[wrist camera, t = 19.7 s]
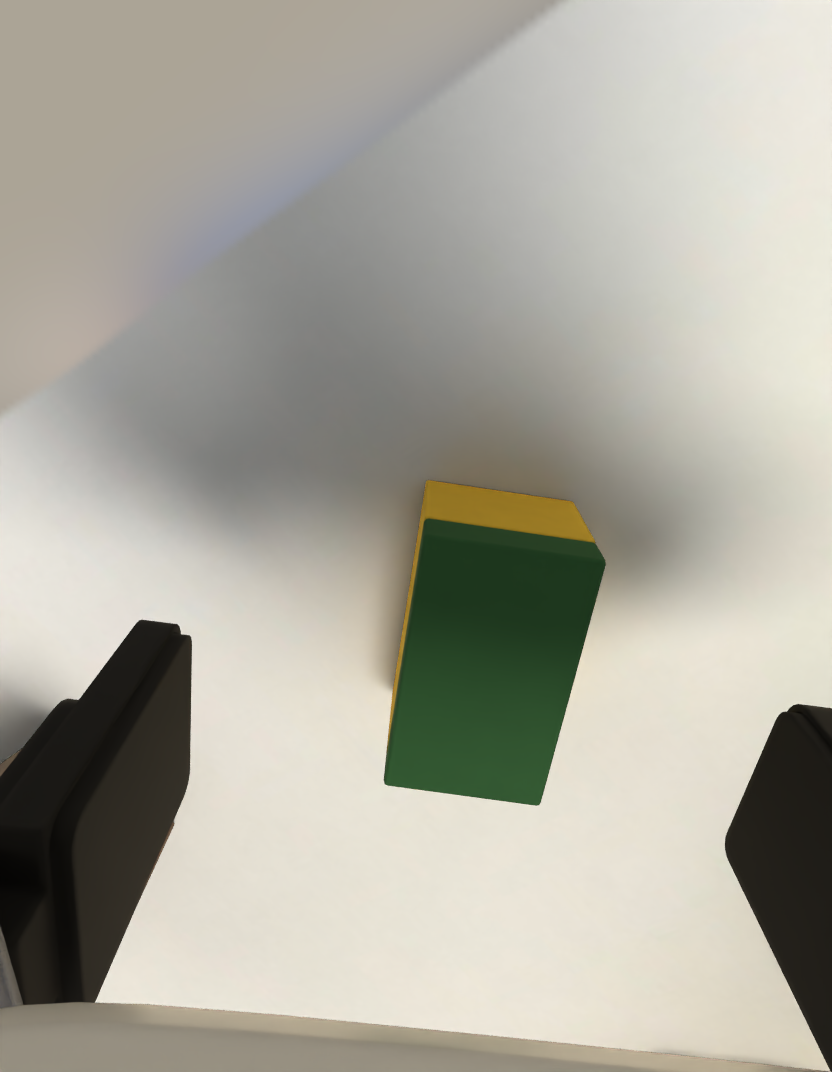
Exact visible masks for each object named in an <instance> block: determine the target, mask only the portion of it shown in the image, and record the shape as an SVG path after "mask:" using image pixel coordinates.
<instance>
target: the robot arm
mask: <svg viewBox="0 0 832 1072" xmlns="http://www.w3.org/2000/svg"><path fill="white" fill-rule="evenodd" d="M191 664H192V640H191V637H190V636H189V635H182V634H181V631H180V627H179V626H178V624H171V623H163V622H155V621H148V620H139V621H138V622H137V623H136V624H135V626H134V627H133V628H132V630H131V631H130V632H129V634H128V635H127V636H126V638H125V639H124V640H123V642H122V643H121V644H120V646H119V647H118V648H117V650H116V651H115V652H114V654H113V655H112V656H111V658H110V659H109V661H108V662H107V663H106V665H105V666H104V667H103V669H102V670H101V671H100V673H99V674H98V675H97V677H96V678H95V679H94V681H93V682H92V683H91V685H90V686H89V687H88V689H87V690H86V691H85V693H84V694H83V695H82V697H81V698H80V699H79V700H73V699H66V700H63V701H61V702H60V703H59V704H58V705H57V706H56V707H55V708H54V709H53V710H52V712H51V713H50V714H49V715H48V717H47V718H46V719H45V720H44V722H43V723H42V724H41V726H40V727H39V728H38V729H37V731H36V732H35V733H34V734H33V736H32V737H31V738H30V739H29V741H28V742H27V743H26V745H25V746H24V747H23V748H22V750H21V751H20V752H19V753H18V755H17V756H16V757H15V759H14V760H13V761H12V762H11V764H10V765H9V766H8V767H7V769H6V770H5V771H4V772H3V774H2V775H1V776H0V1072H828V1071H819V1070H810V1069H801V1068H792V1067H783V1066H774V1065H765V1064H756V1063H747V1062H738V1061H728V1060H719V1059H710V1058H701V1057H691V1056H682V1055H672V1054H663V1053H653V1052H644V1051H634V1050H625V1049H615V1048H606V1047H596V1046H586V1045H577V1044H567V1043H557V1042H548V1041H538V1040H528V1039H519V1038H509V1037H499V1036H489V1035H480V1034H470V1033H459V1032H449V1031H439V1030H429V1029H419V1028H409V1027H398V1026H388V1025H378V1024H368V1023H358V1022H347V1021H337V1020H327V1019H317V1018H307V1017H296V1016H286V1015H275V1014H263V1013H250V1012H238V1011H225V1010H212V1009H200V1008H187V1007H175V1006H162V1005H150V1004H120V1003H95V1001H96V999H97V996H98V994H99V992H100V989H101V987H102V985H103V982H104V980H105V978H106V975H107V973H108V971H109V969H110V966H111V964H112V962H113V959H114V957H115V955H116V952H117V950H118V948H119V945H120V943H121V941H122V938H123V936H124V934H125V931H126V929H127V927H128V925H129V922H130V920H131V918H132V915H133V913H134V911H135V908H136V906H137V904H138V901H139V899H140V897H141V894H142V892H143V890H144V888H145V885H146V883H147V881H148V878H149V876H150V874H151V871H152V869H153V867H154V864H155V862H156V860H157V857H158V855H159V853H160V851H161V848H162V846H163V844H164V841H165V839H166V837H167V834H168V832H169V830H170V827H171V825H172V823H173V820H174V818H175V816H176V813H177V811H178V809H179V807H180V804H181V802H182V800H183V797H184V795H185V792H186V789H187V785H188V780H189V774H190V729H191ZM725 850H726V855H727V858H728V861H729V863H730V865H731V867H732V869H733V871H734V873H735V875H736V877H737V879H738V881H739V883H740V885H741V887H742V890H743V892H744V894H745V896H746V898H747V900H748V902H749V904H750V906H751V908H752V910H753V912H754V914H755V916H756V918H757V920H758V923H759V925H760V927H761V929H762V931H763V933H764V935H765V937H766V939H767V941H768V943H769V945H770V947H771V949H772V951H773V953H774V956H775V958H776V960H777V962H778V964H779V966H780V968H781V970H782V972H783V974H784V976H785V978H786V980H787V982H788V984H789V986H790V988H791V991H792V993H793V995H794V997H795V999H796V1001H797V1003H798V1005H799V1007H800V1009H801V1011H802V1013H803V1015H804V1017H805V1019H806V1021H807V1024H808V1026H809V1028H810V1030H811V1032H812V1034H813V1036H814V1038H815V1040H816V1042H817V1044H818V1046H819V1048H820V1050H821V1052H822V1054H823V1056H824V1059H825V1061H826V1063H827V1065H828V1067H829V1069H830V1071H831V1072H832V709H831V708H825V707H817V706H809V705H801V704H797V705H793V706H792V707H791V708H789V710H788V711H787V712H782V713H781V714H780V715H779V716H778V717H777V719H776V721H775V723H774V726H773V728H772V730H771V733H770V735H769V737H768V740H767V742H766V744H765V746H764V749H763V751H762V753H761V756H760V758H759V760H758V763H757V765H756V767H755V770H754V772H753V774H752V776H751V779H750V781H749V783H748V786H747V788H746V790H745V793H744V795H743V797H742V800H741V802H740V804H739V806H738V809H737V811H736V813H735V816H734V818H733V820H732V823H731V825H730V827H729V829H728V832H727V835H726V839H725Z"/></svg>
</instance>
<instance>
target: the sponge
mask: <svg viewBox="0 0 832 1072" xmlns="http://www.w3.org/2000/svg"><path fill="white" fill-rule="evenodd" d="M605 565H606V562H605V559H604V557H603V556H602V554H601V552H600V550H599V549H598V547H597V545H596V544H595V540H594V538H593V536H592V535H591V533H590V531H589V529H588V527H587V526H586V524H585V522H584V520H583V519H582V517H581V515H580V513H579V512H578V510H577V508H576V506H575V504H574V503H573V502H572V501H565V500H559V499H552V498H545V497H538V496H532V495H525V494H518V493H511V492H505V491H498V490H491V489H484V488H478V487H471V486H464V485H457V484H451V483H444V482H437V481H431V480H427V481H426V485H425V491H424V498H423V504H422V510H421V517H420V523H419V529H418V535H417V542H416V548H415V554H414V561H413V567H412V573H411V580H410V586H409V592H408V599H407V605H406V611H405V618H404V624H403V630H402V637H401V643H400V649H399V656H398V662H397V668H396V674H395V681H394V687H393V694H392V704H391V714H390V723H389V733H388V743H387V754H386V764H385V773H384V782H385V784H386V785H389V786H396V787H403V788H411V789H418V790H425V791H433V792H440V793H448V794H455V795H462V796H470V797H477V798H485V799H492V800H499V801H507V802H514V803H521V804H529V805H536V806H537V805H539V804H540V803H541V799H542V796H543V792H544V788H545V785H546V781H547V777H548V774H549V770H550V766H551V763H552V759H553V755H554V752H555V748H556V744H557V741H558V737H559V733H560V730H561V726H562V722H563V719H564V715H565V711H566V708H567V704H568V700H569V697H570V693H571V690H572V686H573V682H574V679H575V675H576V671H577V668H578V664H579V660H580V657H581V653H582V649H583V646H584V642H585V638H586V635H587V631H588V627H589V624H590V620H591V616H592V613H593V609H594V605H595V602H596V598H597V594H598V591H599V587H600V583H601V580H602V576H603V572H604V569H605Z"/></svg>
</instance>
